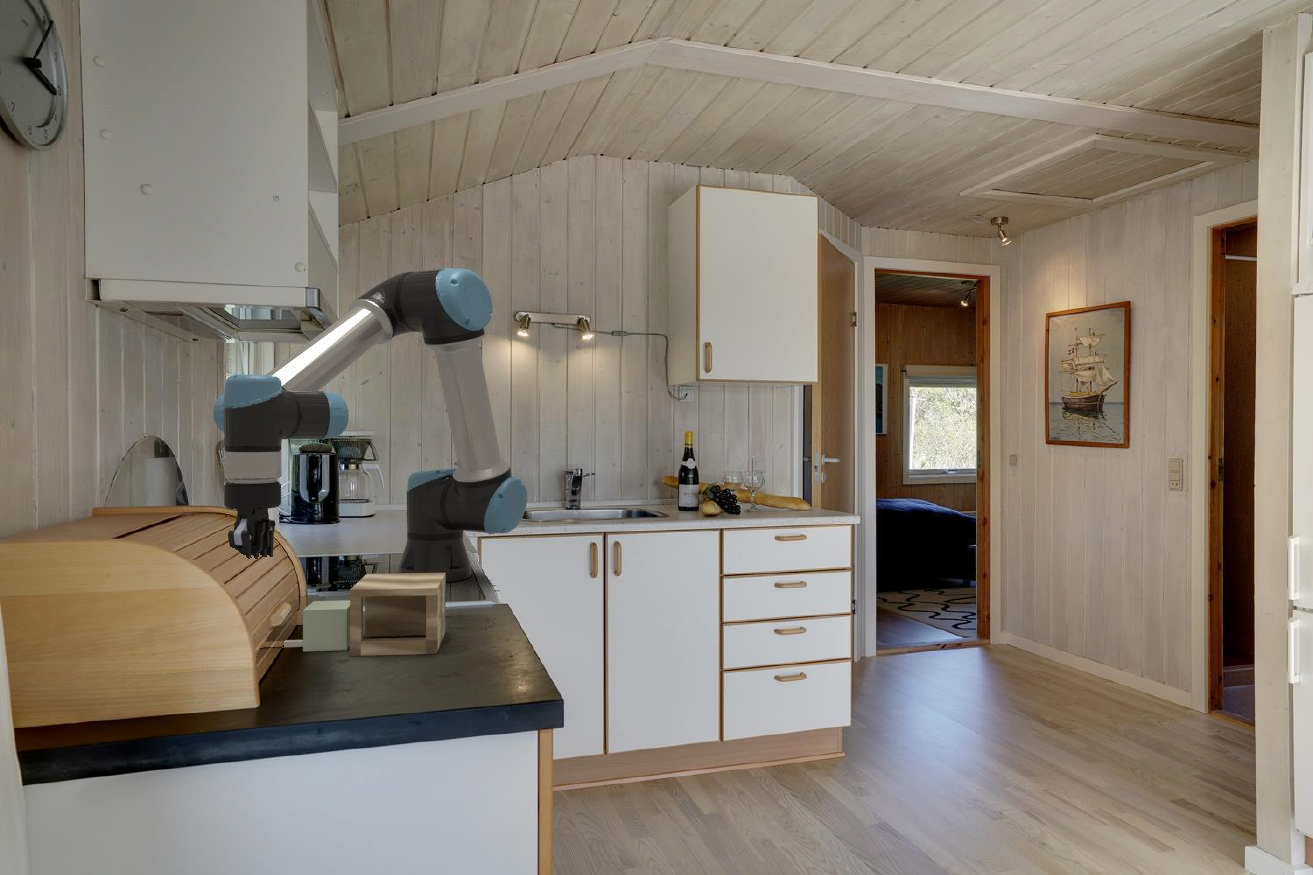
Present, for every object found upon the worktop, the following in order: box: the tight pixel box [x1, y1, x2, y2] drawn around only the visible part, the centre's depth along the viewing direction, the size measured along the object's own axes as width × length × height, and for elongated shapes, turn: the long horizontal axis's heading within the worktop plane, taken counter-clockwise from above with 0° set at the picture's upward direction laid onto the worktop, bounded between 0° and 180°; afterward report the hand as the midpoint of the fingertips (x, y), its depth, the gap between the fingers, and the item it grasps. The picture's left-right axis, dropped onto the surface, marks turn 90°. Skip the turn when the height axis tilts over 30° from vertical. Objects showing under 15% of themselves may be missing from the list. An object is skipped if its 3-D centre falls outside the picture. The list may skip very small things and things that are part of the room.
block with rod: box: [283, 599, 350, 652], centre depth 122 cm, size 6×15×11 cm, turn 99°
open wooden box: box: [349, 572, 447, 657], centre depth 124 cm, size 12×12×10 cm
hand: (252, 640), depth 121 cm, fingers closed on block with rod, 3 cm apart
